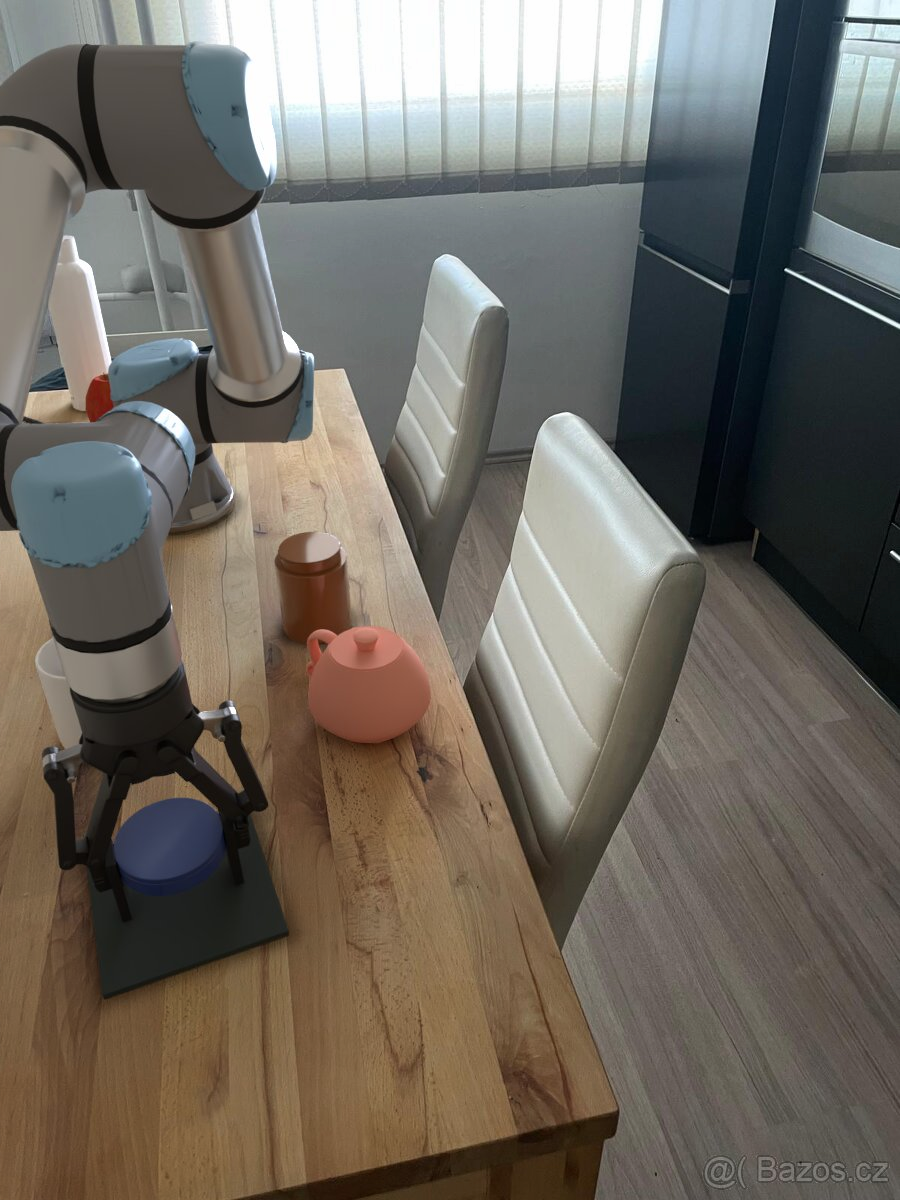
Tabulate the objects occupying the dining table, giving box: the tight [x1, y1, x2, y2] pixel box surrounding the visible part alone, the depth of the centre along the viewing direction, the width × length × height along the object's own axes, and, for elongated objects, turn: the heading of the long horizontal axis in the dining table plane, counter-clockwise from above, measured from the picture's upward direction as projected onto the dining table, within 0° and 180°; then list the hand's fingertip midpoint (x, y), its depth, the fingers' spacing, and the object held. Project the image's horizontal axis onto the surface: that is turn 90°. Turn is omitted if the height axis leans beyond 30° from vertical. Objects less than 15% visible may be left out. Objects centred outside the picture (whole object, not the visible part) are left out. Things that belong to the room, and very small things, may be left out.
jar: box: [274, 531, 353, 645], centre depth 104 cm, size 8×8×10 cm
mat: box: [86, 813, 290, 1000], centre depth 75 cm, size 14×14×1 cm
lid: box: [113, 797, 226, 897], centre depth 72 cm, size 8×8×2 cm
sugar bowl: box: [305, 625, 432, 744], centre depth 91 cm, size 12×14×10 cm
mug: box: [34, 637, 82, 750], centre depth 89 cm, size 12×8×10 cm
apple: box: [85, 372, 114, 422], centre depth 150 cm, size 8×8×11 cm
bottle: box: [48, 234, 113, 412], centre depth 157 cm, size 8×8×28 cm
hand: (182, 889), depth 75 cm, fingers closed on lid, 8 cm apart
